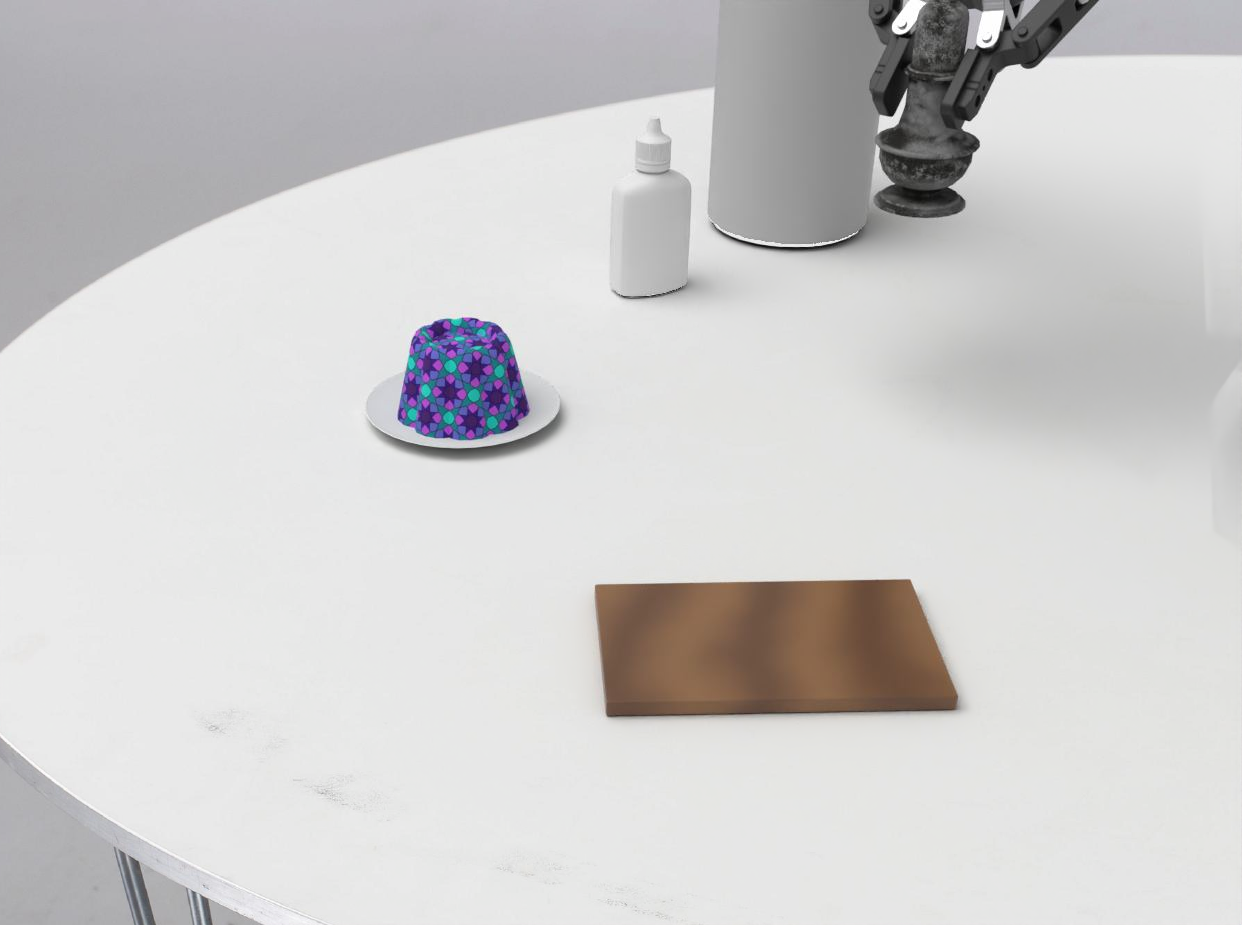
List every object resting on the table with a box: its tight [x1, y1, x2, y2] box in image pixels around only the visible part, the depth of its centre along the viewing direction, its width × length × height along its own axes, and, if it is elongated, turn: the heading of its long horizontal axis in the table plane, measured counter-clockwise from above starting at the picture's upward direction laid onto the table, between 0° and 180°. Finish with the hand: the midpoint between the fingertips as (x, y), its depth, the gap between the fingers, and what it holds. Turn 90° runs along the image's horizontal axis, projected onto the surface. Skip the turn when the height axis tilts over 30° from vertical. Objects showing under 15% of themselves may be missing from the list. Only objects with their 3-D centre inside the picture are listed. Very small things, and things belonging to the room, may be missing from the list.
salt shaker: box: [873, 0, 981, 219], centre depth 86 cm, size 6×6×12 cm
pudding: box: [364, 316, 561, 449], centre depth 93 cm, size 12×12×5 cm
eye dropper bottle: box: [608, 115, 693, 297], centre depth 107 cm, size 4×6×12 cm
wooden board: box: [594, 578, 959, 717], centre depth 74 cm, size 16×10×1 cm, turn 92°
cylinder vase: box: [707, 0, 887, 244], centre depth 114 cm, size 12×12×25 cm
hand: (915, 113), depth 85 cm, fingers closed on salt shaker, 3 cm apart
